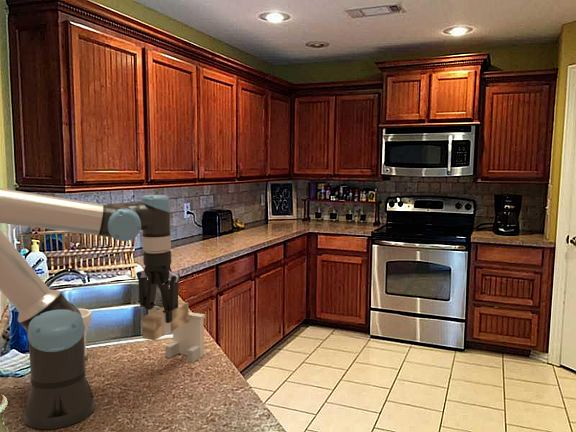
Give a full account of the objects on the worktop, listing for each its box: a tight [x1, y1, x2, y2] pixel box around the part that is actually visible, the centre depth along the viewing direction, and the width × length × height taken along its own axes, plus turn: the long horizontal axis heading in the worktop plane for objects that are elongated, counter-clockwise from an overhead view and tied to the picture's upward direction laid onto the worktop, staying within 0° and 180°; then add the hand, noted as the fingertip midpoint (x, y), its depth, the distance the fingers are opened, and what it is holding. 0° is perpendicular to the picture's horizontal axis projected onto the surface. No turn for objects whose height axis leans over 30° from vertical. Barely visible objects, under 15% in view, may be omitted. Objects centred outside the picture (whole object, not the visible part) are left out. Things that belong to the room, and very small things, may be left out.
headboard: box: [164, 311, 206, 363], centre depth 147 cm, size 6×11×13 cm, turn 67°
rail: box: [141, 300, 190, 341], centre depth 138 cm, size 16×4×6 cm, turn 157°
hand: (159, 331), depth 136 cm, fingers closed on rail, 4 cm apart
